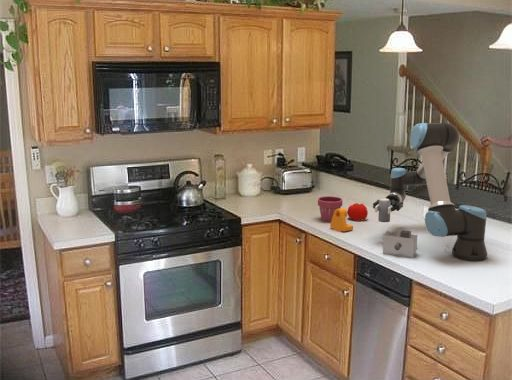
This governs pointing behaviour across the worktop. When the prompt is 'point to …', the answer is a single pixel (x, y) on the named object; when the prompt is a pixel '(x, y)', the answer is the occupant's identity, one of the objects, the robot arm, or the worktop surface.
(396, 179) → the robot arm
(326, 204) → the plant pot
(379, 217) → the grey cylinder
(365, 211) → the tomato
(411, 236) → the grey toy camera
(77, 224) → the worktop surface
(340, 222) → the bracket
